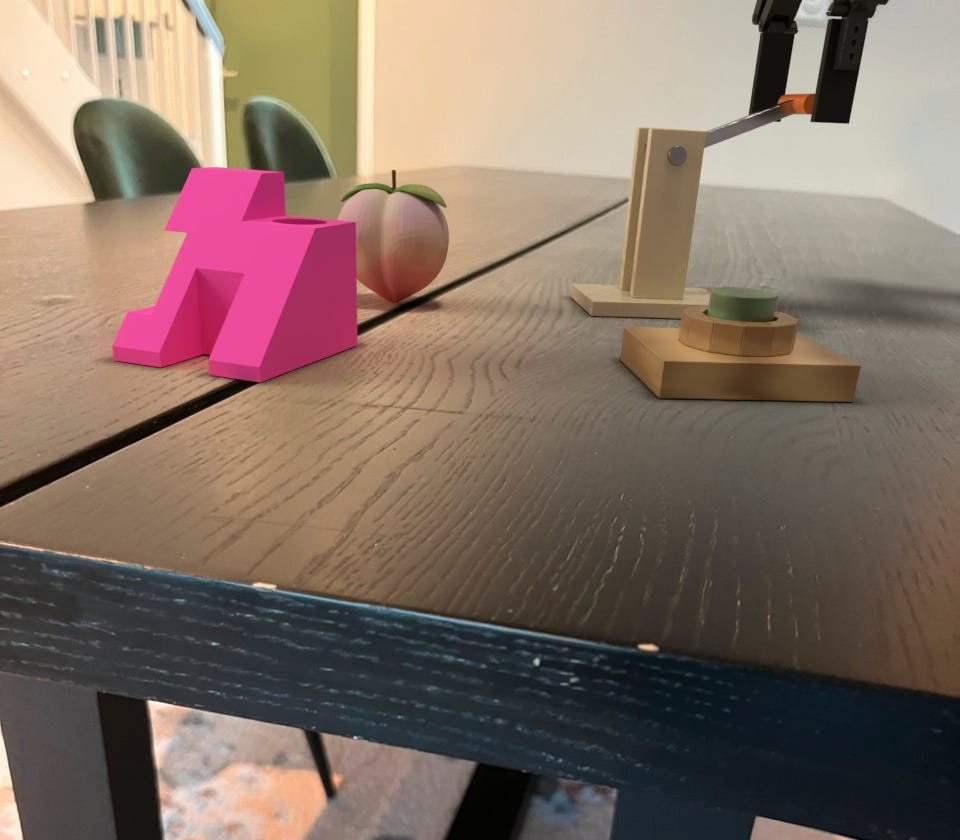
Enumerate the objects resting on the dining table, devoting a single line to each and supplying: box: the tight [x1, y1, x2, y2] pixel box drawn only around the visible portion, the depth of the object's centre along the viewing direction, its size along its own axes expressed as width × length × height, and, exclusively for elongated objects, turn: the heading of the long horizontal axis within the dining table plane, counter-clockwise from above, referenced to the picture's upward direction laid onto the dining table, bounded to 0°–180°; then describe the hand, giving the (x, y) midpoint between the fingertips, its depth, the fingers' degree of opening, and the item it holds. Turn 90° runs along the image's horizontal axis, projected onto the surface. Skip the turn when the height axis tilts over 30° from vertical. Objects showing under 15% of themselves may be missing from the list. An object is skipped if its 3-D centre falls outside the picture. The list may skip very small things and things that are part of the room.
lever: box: [645, 92, 815, 149], centre depth 78 cm, size 13×6×2 cm, turn 96°
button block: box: [619, 305, 862, 403], centre depth 61 cm, size 12×10×4 cm
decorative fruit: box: [337, 169, 450, 304], centre depth 79 cm, size 9×8×10 cm
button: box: [707, 286, 778, 322], centre depth 60 cm, size 4×4×2 cm
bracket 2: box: [570, 126, 711, 320], centre depth 81 cm, size 12×9×14 cm
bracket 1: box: [111, 166, 358, 383], centre depth 60 cm, size 12×10×10 cm
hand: (794, 122), depth 79 cm, fingers open, 13 cm apart
